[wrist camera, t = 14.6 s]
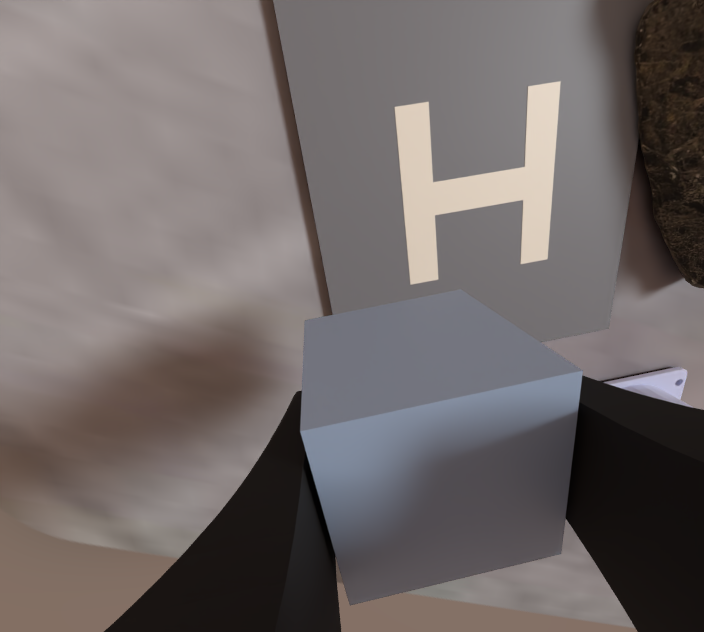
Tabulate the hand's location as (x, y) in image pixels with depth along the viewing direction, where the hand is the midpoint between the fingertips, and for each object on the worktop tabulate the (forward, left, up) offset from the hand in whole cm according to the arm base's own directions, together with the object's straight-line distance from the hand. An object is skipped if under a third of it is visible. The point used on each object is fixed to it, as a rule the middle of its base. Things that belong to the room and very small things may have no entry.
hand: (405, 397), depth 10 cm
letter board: (+5, -6, -8) cm, 12 cm away
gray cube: (0, 0, -1) cm, 1 cm away
